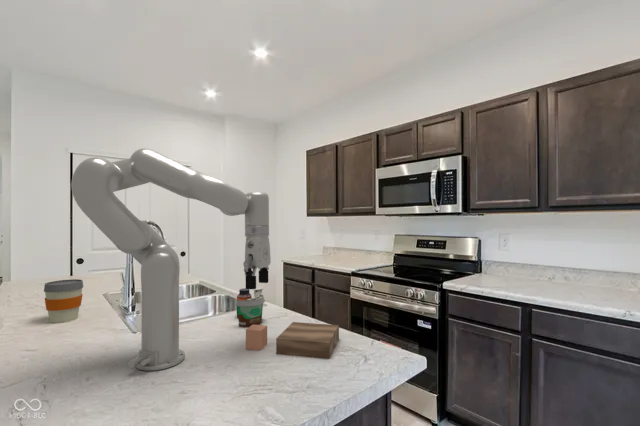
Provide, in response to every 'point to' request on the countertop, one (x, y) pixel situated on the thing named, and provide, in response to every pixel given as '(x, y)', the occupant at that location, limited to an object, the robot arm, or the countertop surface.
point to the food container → (250, 311)
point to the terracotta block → (256, 337)
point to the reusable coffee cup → (63, 300)
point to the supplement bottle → (243, 295)
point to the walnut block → (308, 340)
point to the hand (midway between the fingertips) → (257, 285)
